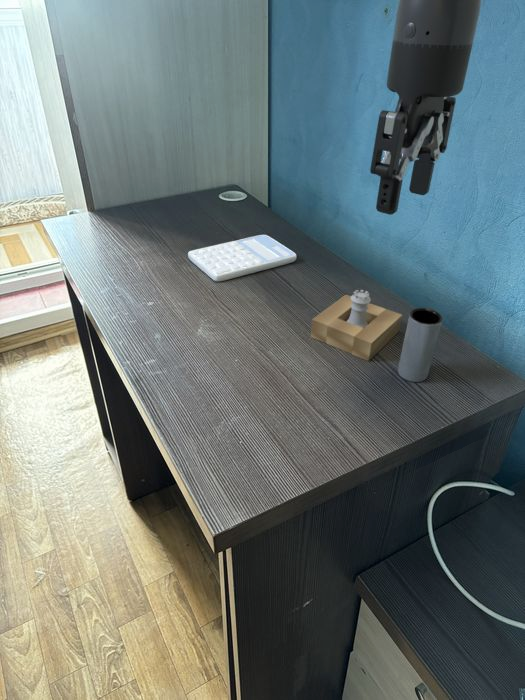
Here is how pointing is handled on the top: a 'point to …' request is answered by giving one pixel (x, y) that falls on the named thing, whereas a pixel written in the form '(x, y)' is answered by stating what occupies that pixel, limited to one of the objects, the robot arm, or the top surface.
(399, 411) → the top surface
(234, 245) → the calculator
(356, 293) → the rook chess piece
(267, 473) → the top surface
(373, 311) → the holder
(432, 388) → the top surface
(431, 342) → the planter
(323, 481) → the top surface
